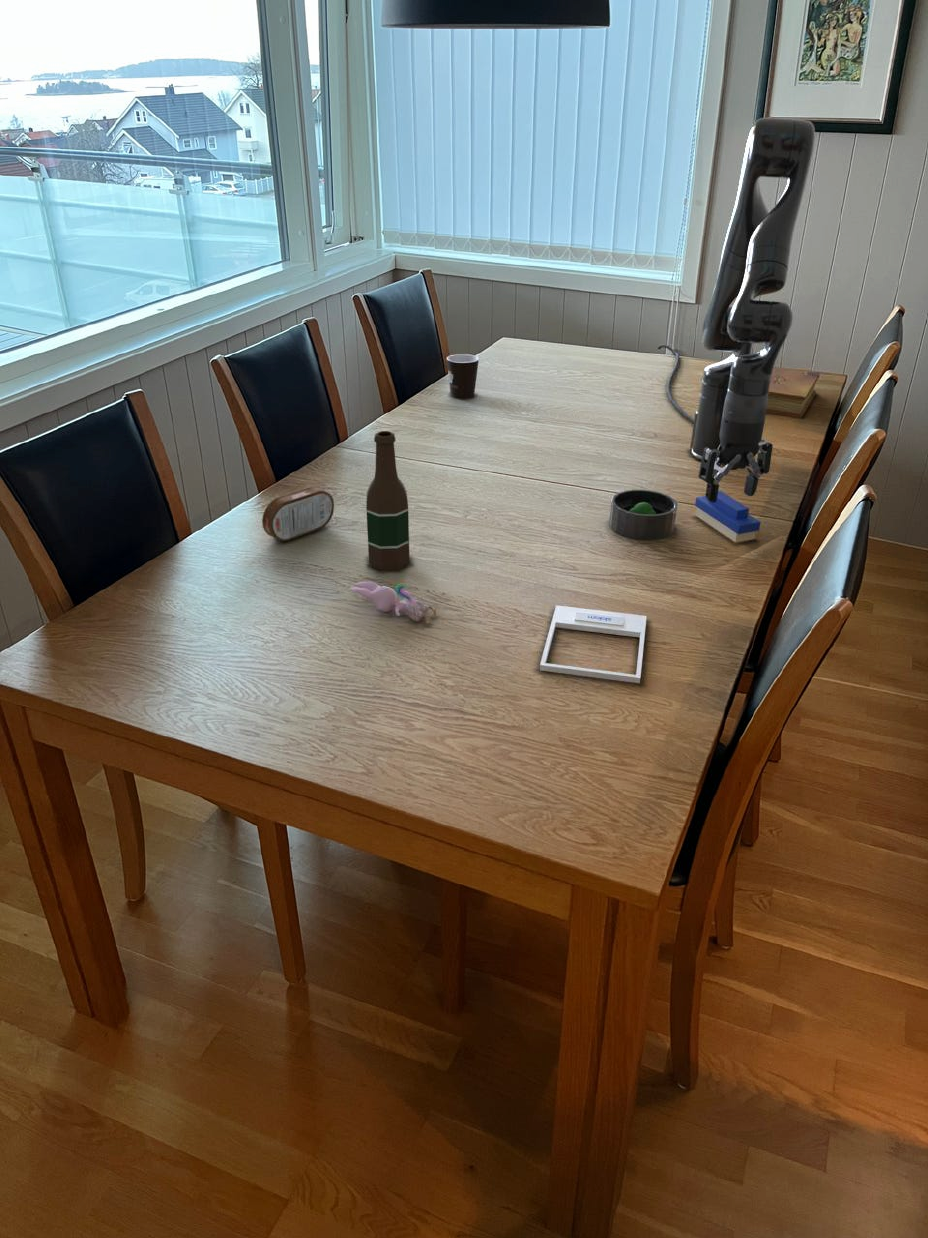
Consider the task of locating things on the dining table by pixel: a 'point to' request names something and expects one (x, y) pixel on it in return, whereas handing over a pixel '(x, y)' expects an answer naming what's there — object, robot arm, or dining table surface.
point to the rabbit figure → (393, 600)
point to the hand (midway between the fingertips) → (730, 497)
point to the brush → (728, 517)
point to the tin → (298, 513)
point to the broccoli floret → (643, 509)
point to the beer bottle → (387, 510)
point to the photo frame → (601, 624)
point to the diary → (791, 391)
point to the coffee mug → (462, 375)
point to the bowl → (643, 515)
